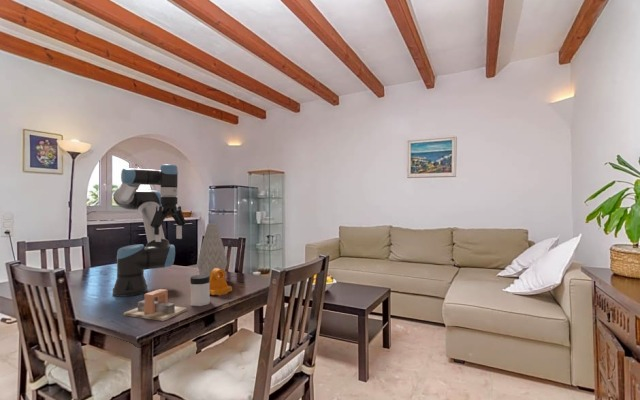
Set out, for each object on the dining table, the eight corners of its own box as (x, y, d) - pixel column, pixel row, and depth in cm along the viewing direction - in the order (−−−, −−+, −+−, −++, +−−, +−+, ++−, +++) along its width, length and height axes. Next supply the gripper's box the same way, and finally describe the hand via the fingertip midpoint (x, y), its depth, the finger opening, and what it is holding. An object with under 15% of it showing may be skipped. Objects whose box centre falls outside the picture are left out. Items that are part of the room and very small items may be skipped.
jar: (204, 299, 154) (204, 273, 154) (214, 302, 148) (214, 276, 148) (186, 304, 147) (186, 276, 147) (195, 307, 141) (195, 279, 142)
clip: (144, 312, 132) (144, 294, 132) (159, 306, 140) (159, 289, 140) (152, 313, 131) (152, 294, 131) (167, 307, 138) (167, 289, 138)
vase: (222, 285, 179) (222, 224, 180) (192, 285, 180) (192, 224, 180) (231, 278, 196) (231, 222, 196) (203, 278, 196) (203, 222, 197)
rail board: (123, 315, 132) (123, 305, 132) (149, 305, 144) (149, 296, 144) (163, 320, 126) (163, 310, 126) (187, 310, 138) (187, 300, 138)
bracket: (213, 296, 158) (213, 271, 158) (205, 294, 163) (205, 269, 163) (232, 292, 166) (232, 268, 166) (225, 289, 171) (225, 266, 171)
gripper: (154, 196, 148) (154, 243, 148) (192, 196, 171) (192, 237, 171) (141, 196, 150) (141, 242, 150) (181, 196, 174) (181, 237, 174)
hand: (168, 240), depth 161 cm, fingers open, 13 cm apart
